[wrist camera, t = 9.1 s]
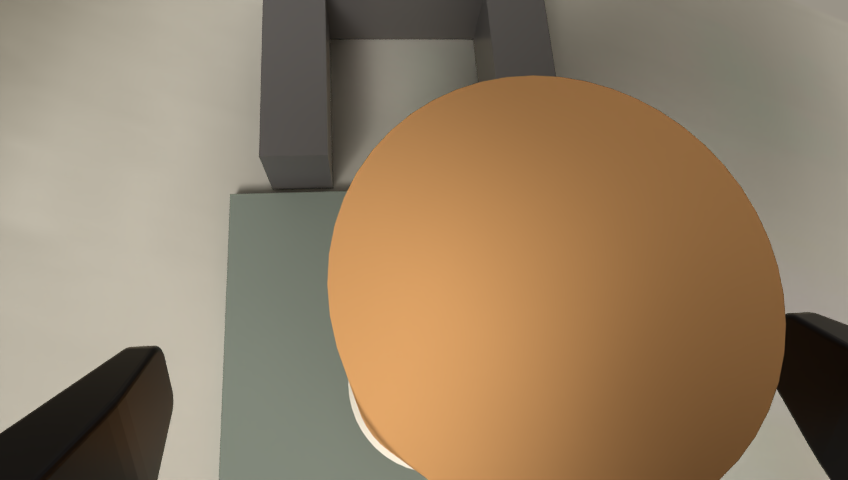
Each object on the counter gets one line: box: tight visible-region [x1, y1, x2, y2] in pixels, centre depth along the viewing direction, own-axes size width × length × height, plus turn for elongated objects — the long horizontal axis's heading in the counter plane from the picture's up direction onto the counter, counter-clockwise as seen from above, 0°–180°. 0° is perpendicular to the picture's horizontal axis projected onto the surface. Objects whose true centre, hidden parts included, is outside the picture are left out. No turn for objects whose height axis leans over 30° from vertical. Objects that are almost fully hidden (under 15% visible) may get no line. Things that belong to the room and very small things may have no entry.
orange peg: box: [327, 75, 786, 480], centre depth 11 cm, size 4×4×13 cm
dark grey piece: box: [259, 0, 556, 190], centre depth 20 cm, size 8×9×2 cm
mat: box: [219, 191, 428, 480], centre depth 18 cm, size 14×12×1 cm
